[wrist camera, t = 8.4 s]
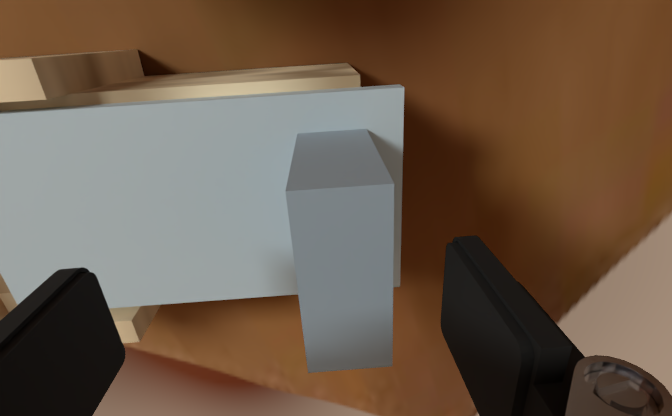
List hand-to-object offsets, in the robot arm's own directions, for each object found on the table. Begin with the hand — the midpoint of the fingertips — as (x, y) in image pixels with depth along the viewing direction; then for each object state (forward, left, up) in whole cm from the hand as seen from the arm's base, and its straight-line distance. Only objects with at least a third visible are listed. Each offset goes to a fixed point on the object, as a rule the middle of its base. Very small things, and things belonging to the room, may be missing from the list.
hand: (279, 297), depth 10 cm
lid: (+4, -1, -6) cm, 7 cm away
